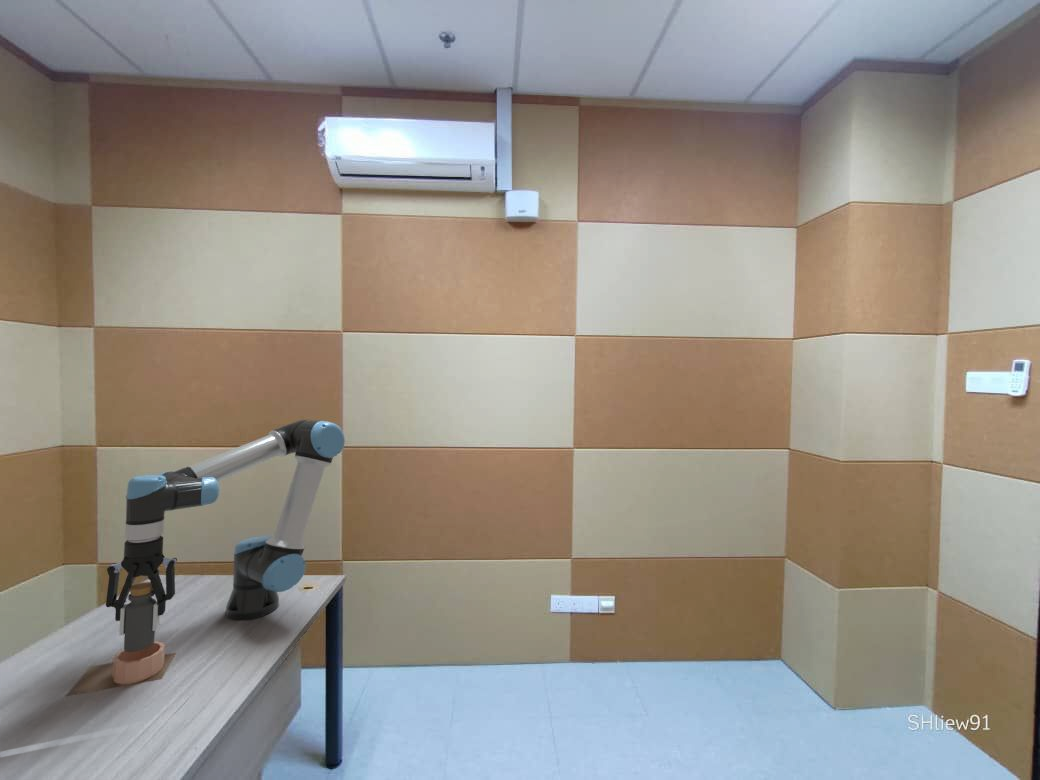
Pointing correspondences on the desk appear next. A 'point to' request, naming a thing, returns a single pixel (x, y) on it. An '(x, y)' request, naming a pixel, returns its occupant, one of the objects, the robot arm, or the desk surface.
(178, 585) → the desk surface
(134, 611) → the bottle
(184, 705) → the desk surface
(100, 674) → the board
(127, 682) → the terracotta bowl
